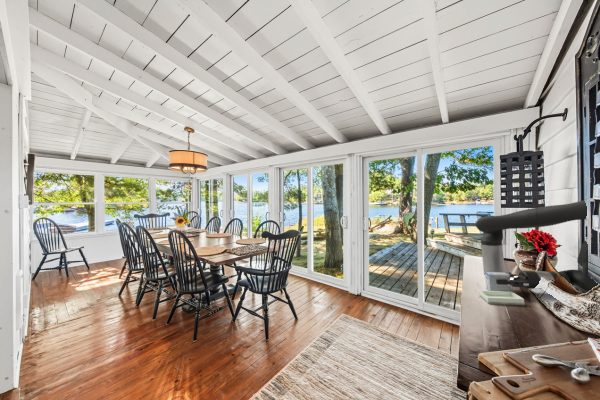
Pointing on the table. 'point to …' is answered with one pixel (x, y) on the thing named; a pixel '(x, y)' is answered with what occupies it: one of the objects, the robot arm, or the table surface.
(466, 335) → the table surface
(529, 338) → the table surface
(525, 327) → the table surface
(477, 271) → the table surface
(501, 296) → the tray
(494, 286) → the medicine box
